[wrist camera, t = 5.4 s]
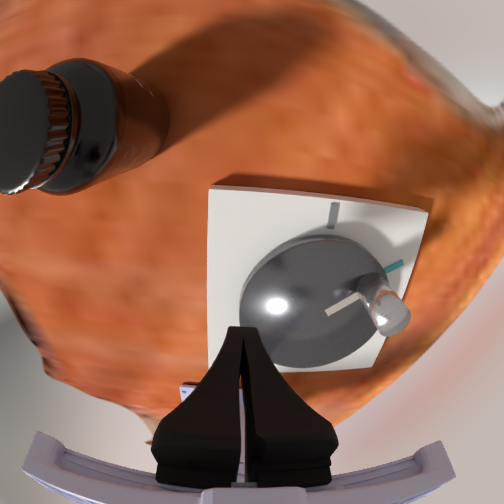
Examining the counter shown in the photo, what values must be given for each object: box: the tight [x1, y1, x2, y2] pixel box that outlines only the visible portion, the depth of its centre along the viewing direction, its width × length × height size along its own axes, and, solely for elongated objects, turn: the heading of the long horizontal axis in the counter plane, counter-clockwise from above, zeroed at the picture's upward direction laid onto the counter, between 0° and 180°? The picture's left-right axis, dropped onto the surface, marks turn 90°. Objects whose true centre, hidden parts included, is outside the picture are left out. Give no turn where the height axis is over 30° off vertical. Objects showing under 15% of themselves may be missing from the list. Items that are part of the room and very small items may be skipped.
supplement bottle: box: [0, 58, 169, 196], centre depth 12 cm, size 7×7×12 cm
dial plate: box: [207, 185, 429, 372], centre depth 22 cm, size 17×17×2 cm
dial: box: [239, 235, 411, 368], centre depth 19 cm, size 12×12×6 cm
